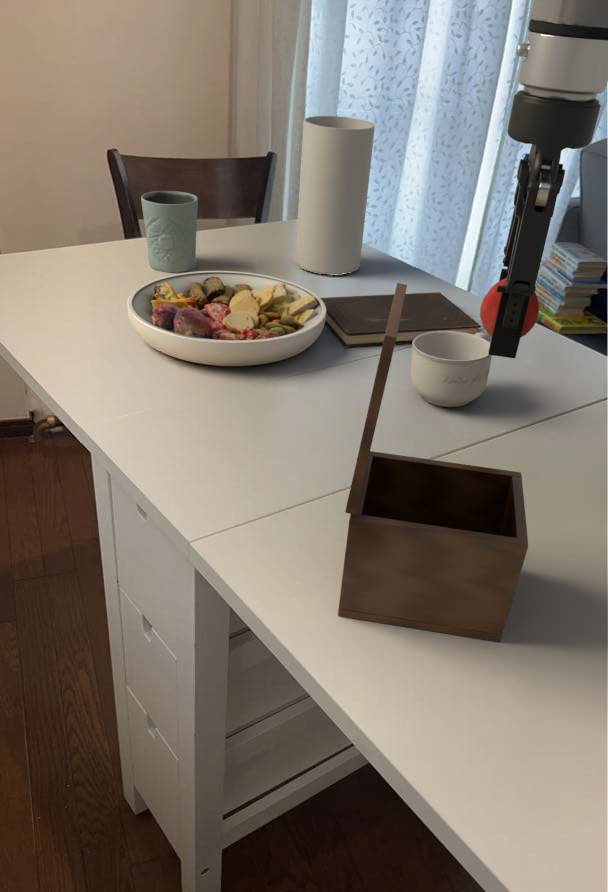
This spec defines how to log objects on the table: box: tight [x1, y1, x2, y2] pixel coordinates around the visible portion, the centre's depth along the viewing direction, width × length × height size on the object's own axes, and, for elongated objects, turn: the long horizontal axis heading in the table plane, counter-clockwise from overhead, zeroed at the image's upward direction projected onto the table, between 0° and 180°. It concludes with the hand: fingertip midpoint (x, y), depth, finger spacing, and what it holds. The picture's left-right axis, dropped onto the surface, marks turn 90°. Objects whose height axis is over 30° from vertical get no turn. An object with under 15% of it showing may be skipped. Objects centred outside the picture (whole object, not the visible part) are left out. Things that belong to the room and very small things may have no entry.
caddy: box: [337, 450, 529, 643], centre depth 74 cm, size 15×12×11 cm
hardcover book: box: [320, 291, 482, 349], centre depth 131 cm, size 16×23×2 cm
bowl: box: [126, 270, 326, 367], centre depth 122 cm, size 30×30×8 cm
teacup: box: [410, 331, 493, 408], centre depth 110 cm, size 14×11×8 cm
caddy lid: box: [344, 282, 408, 515], centre depth 66 cm, size 16×12×1 cm
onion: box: [479, 278, 540, 339], centre depth 81 cm, size 6×6×8 cm
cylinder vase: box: [295, 115, 376, 275], centre depth 147 cm, size 12×12×25 cm
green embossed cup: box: [140, 190, 199, 273], centre depth 146 cm, size 10×10×12 cm
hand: (501, 342), depth 84 cm, fingers closed on onion, 6 cm apart
